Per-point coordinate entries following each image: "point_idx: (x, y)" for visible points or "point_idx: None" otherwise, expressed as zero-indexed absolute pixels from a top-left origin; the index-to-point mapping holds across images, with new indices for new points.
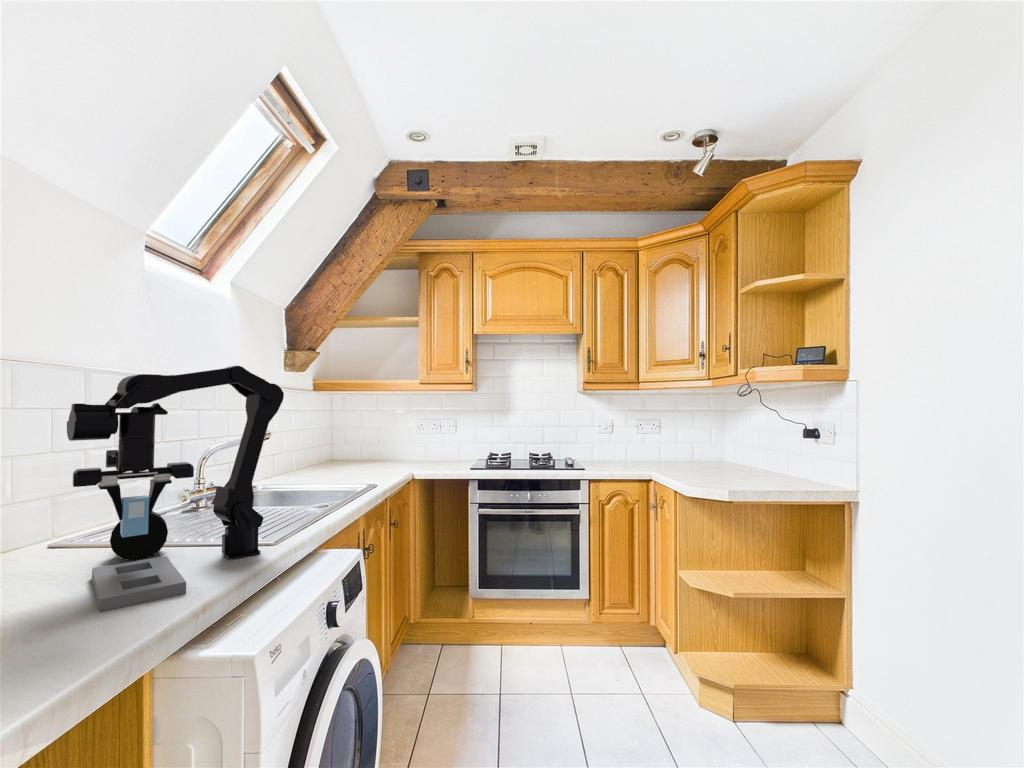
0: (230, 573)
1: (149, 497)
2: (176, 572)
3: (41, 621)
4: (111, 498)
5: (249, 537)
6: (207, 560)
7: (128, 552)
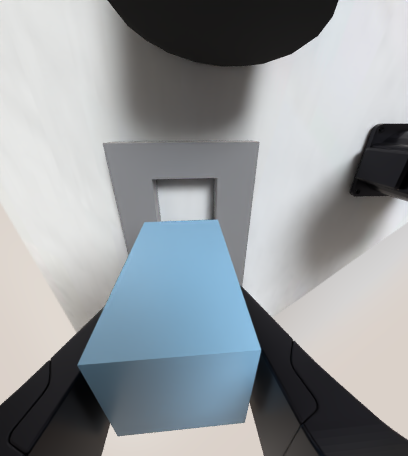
0: (304, 270)
1: (258, 385)
2: (239, 281)
3: (93, 311)
4: (12, 401)
5: None
6: (323, 163)
7: (179, 45)
